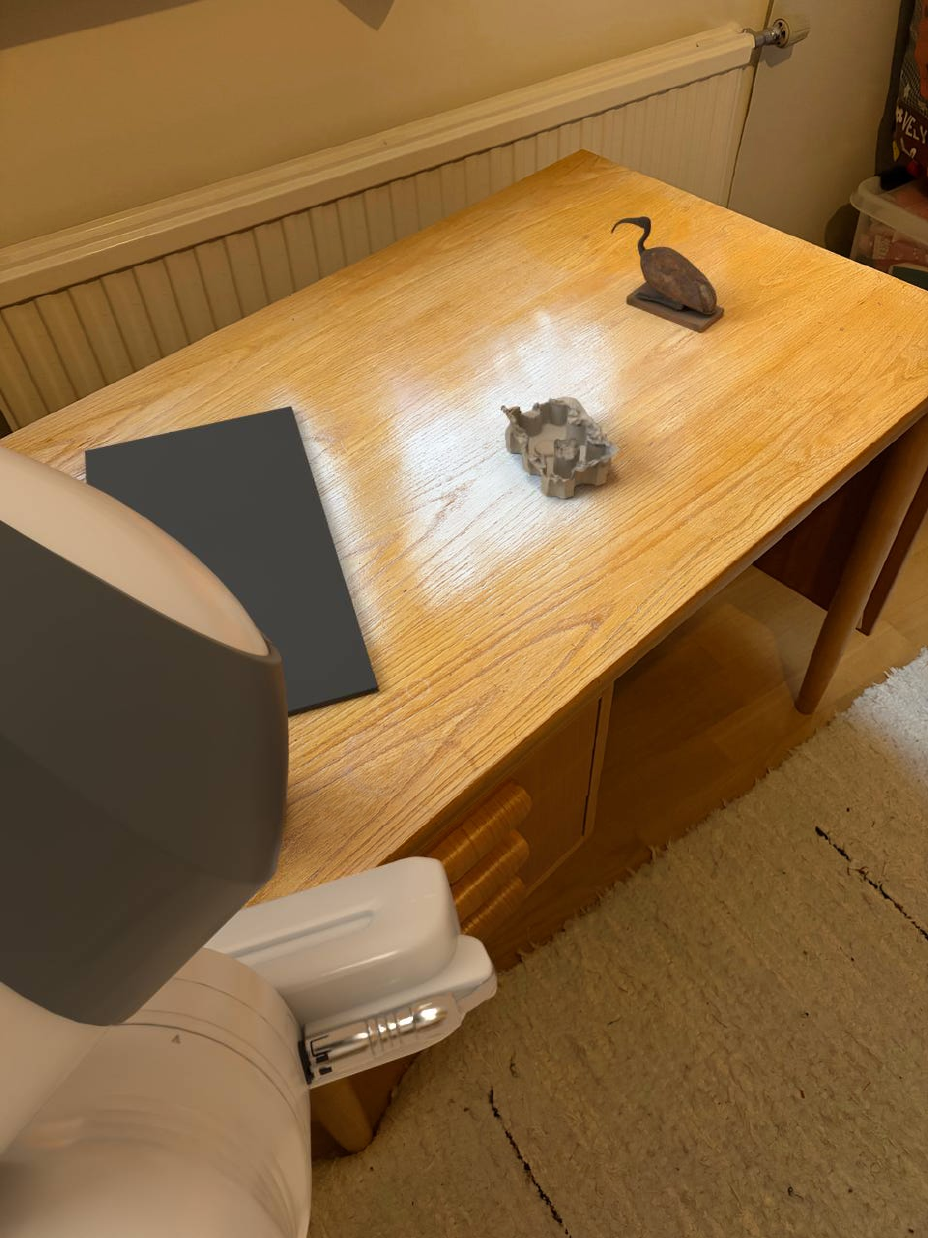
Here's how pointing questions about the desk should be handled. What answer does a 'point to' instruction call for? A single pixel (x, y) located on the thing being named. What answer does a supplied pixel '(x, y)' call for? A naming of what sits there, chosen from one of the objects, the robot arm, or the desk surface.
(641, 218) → the figurine
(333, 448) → the desk surface
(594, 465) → the egg carton
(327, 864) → the desk surface
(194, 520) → the desk mat
